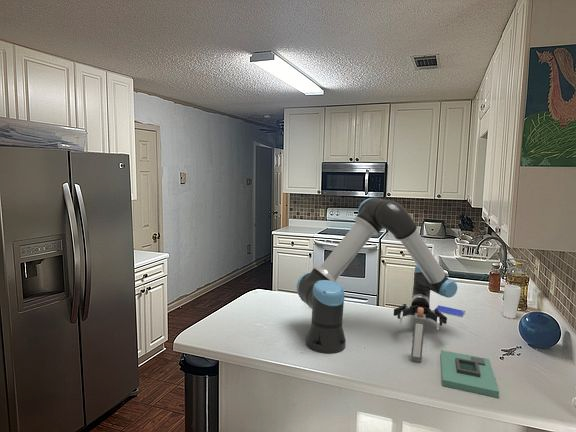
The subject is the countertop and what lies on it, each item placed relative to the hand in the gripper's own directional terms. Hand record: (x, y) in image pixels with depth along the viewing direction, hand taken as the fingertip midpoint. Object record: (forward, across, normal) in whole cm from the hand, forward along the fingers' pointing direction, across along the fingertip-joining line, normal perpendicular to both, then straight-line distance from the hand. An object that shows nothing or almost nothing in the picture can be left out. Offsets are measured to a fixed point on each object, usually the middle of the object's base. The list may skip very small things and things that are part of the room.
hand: (419, 323), depth 150 cm
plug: (+10, 0, -9) cm, 14 cm away
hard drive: (-46, -14, -10) cm, 49 cm away
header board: (+15, -16, -9) cm, 24 cm away
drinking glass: (-52, -40, -10) cm, 67 cm away
